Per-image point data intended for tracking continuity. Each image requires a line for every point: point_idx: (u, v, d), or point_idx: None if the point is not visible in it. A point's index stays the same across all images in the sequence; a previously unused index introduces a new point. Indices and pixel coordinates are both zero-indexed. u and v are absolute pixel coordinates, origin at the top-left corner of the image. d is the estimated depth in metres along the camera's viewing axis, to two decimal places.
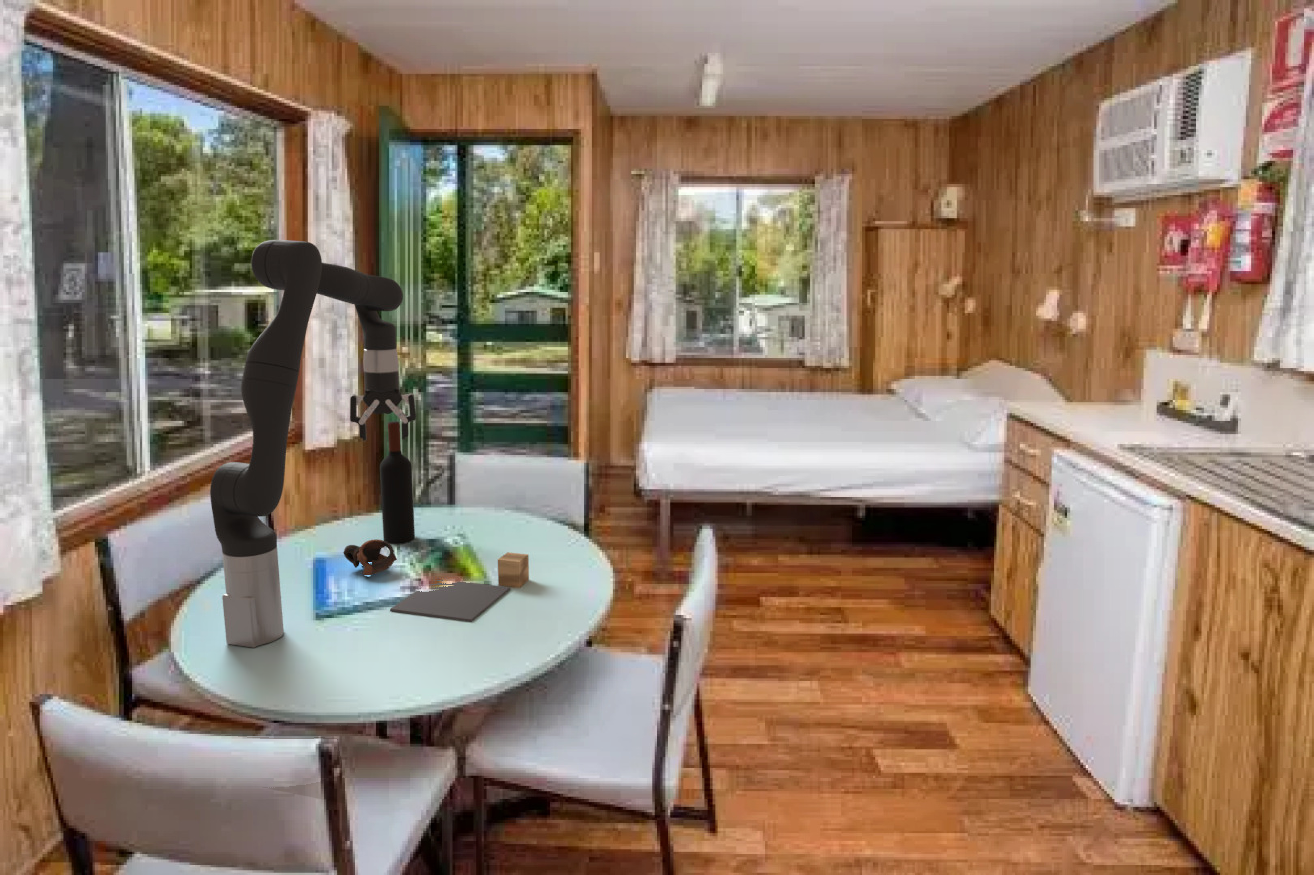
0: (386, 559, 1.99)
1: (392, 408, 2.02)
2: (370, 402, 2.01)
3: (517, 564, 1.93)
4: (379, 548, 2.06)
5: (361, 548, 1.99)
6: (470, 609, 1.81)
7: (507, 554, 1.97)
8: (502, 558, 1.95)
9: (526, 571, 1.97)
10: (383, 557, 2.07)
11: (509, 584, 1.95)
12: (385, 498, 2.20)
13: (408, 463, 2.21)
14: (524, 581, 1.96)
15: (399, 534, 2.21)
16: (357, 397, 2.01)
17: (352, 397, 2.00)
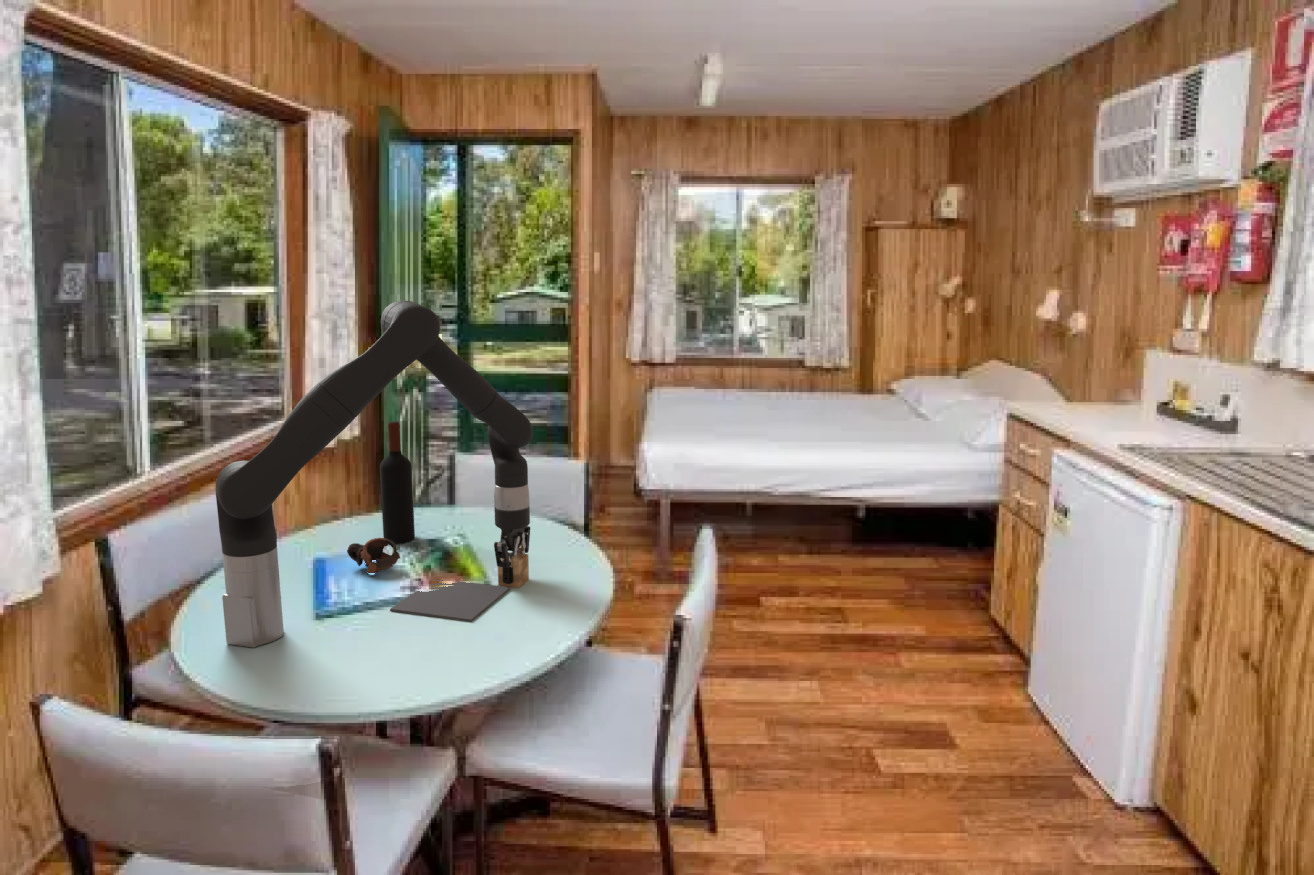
0: (390, 557, 2.00)
1: (523, 542, 1.96)
2: (512, 542, 1.92)
3: (517, 564, 1.93)
4: (382, 546, 2.07)
5: (365, 546, 2.01)
6: (470, 609, 1.81)
7: None
8: None
9: (526, 571, 1.97)
10: (386, 555, 2.08)
11: (509, 584, 1.95)
12: (385, 498, 2.20)
13: (408, 463, 2.21)
14: (524, 581, 1.96)
15: (399, 534, 2.21)
16: (503, 542, 1.90)
17: (505, 545, 1.89)
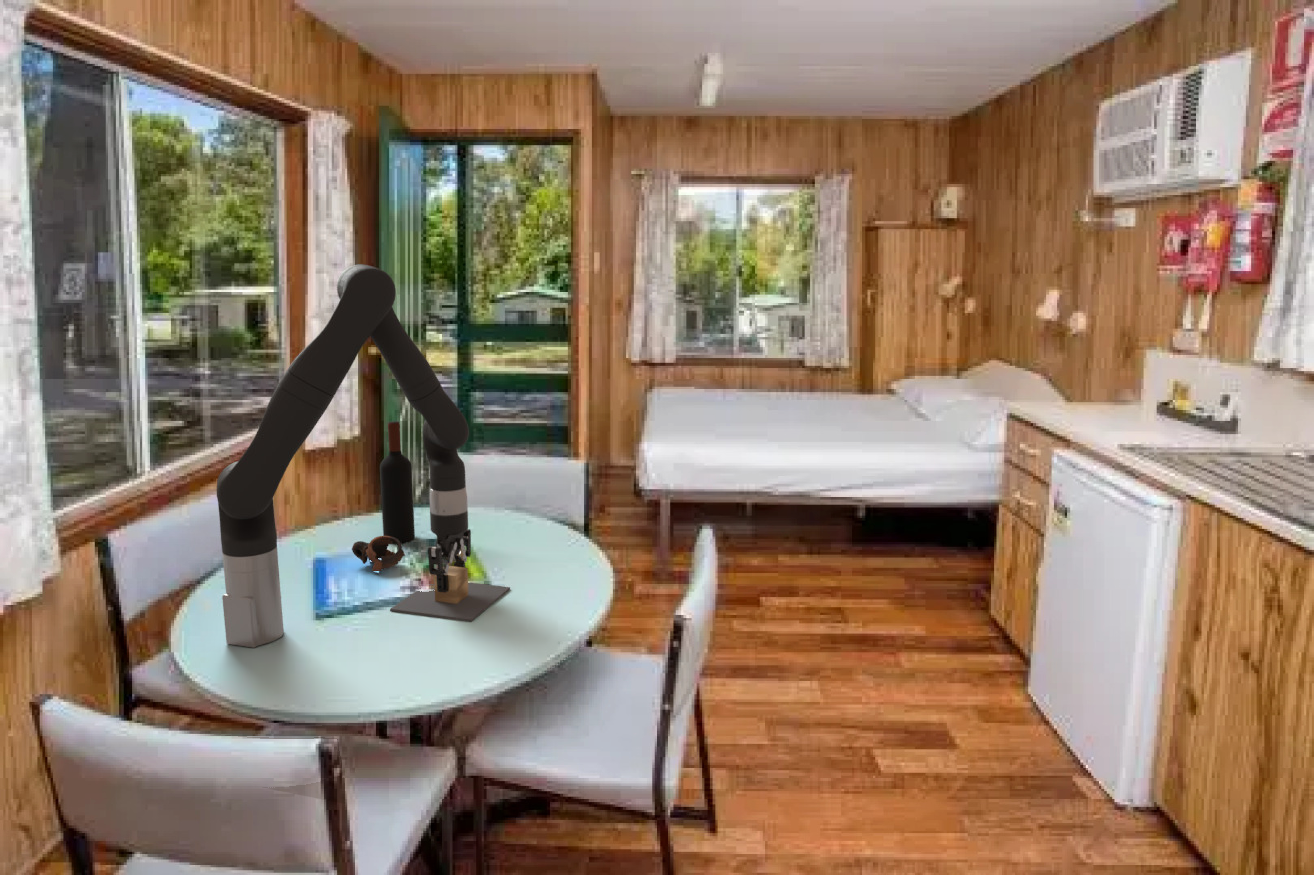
0: (395, 555, 2.02)
1: (462, 547, 1.86)
2: (448, 548, 1.82)
3: (454, 579, 1.83)
4: (387, 544, 2.09)
5: (370, 544, 2.02)
6: (470, 609, 1.81)
7: None
8: None
9: (465, 585, 1.87)
10: (390, 553, 2.10)
11: (446, 599, 1.84)
12: (385, 498, 2.20)
13: (408, 463, 2.21)
14: (462, 596, 1.86)
15: (399, 534, 2.21)
16: None
17: (439, 549, 1.78)
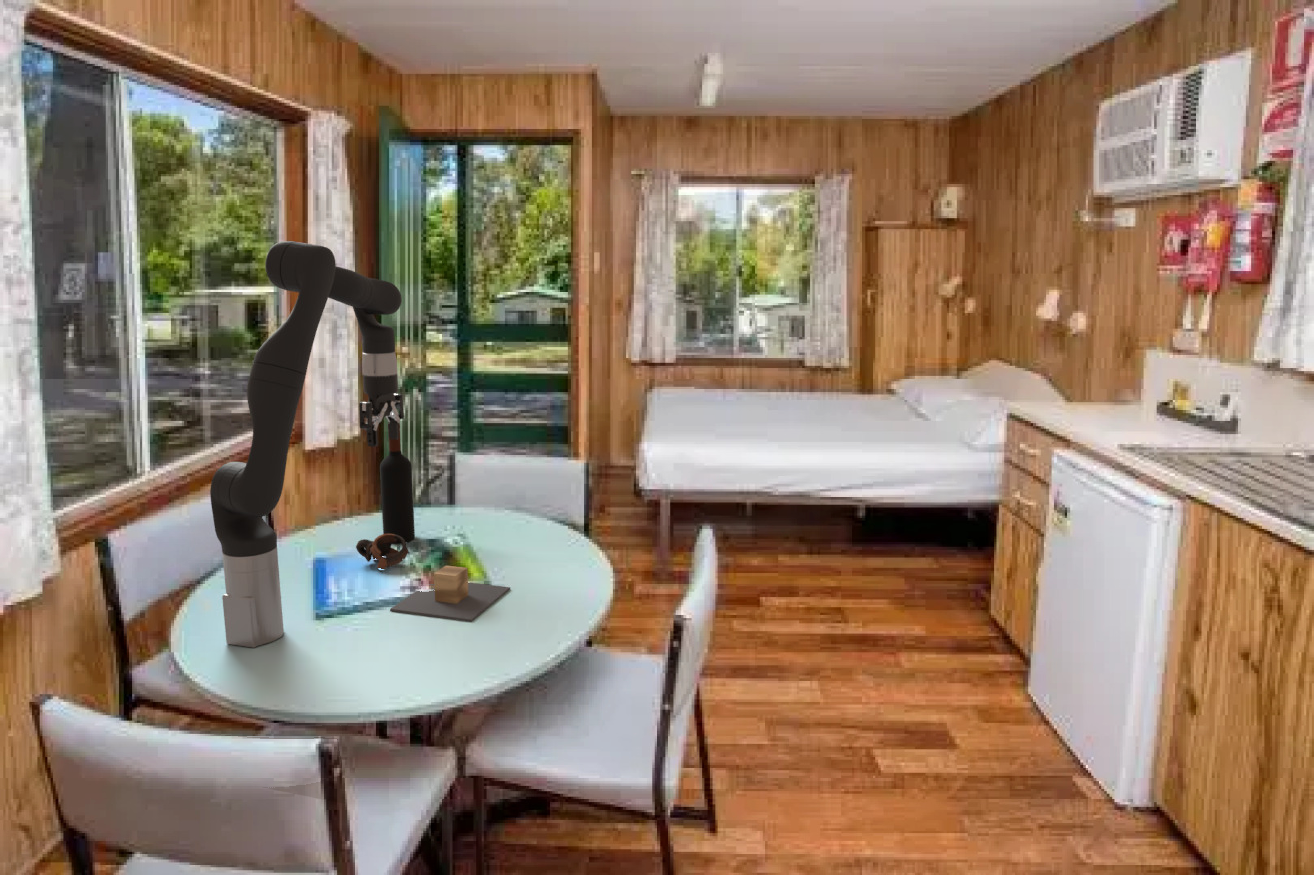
0: (400, 552, 2.04)
1: (393, 409, 2.05)
2: (379, 406, 2.00)
3: (454, 579, 1.83)
4: (390, 542, 2.10)
5: (375, 542, 2.04)
6: (470, 609, 1.81)
7: (445, 567, 1.87)
8: (439, 572, 1.84)
9: (465, 585, 1.87)
10: (394, 551, 2.11)
11: (446, 599, 1.84)
12: (385, 498, 2.20)
13: (408, 463, 2.21)
14: (462, 596, 1.86)
15: (399, 534, 2.21)
16: None
17: (370, 403, 1.97)
